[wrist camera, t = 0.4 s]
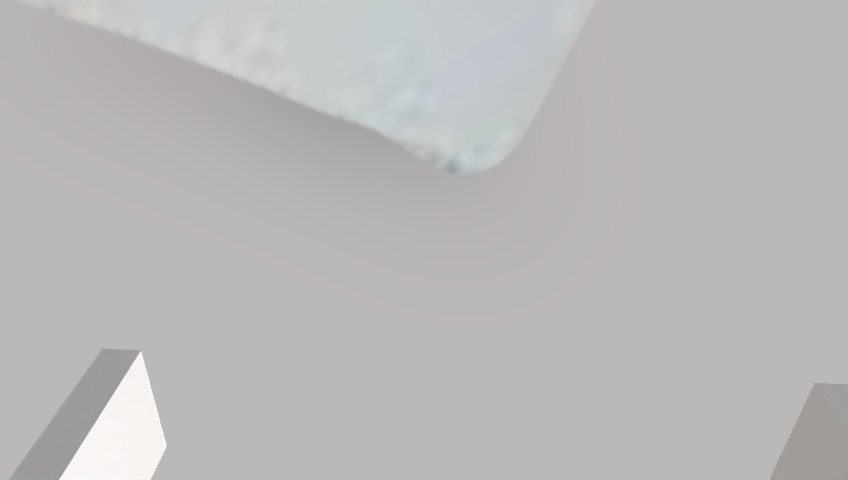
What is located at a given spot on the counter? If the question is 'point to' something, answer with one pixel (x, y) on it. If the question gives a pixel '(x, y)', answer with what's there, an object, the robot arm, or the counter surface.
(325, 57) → the counter surface
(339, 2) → the counter surface
